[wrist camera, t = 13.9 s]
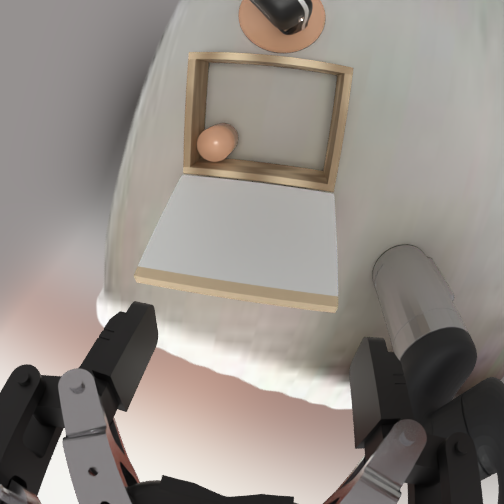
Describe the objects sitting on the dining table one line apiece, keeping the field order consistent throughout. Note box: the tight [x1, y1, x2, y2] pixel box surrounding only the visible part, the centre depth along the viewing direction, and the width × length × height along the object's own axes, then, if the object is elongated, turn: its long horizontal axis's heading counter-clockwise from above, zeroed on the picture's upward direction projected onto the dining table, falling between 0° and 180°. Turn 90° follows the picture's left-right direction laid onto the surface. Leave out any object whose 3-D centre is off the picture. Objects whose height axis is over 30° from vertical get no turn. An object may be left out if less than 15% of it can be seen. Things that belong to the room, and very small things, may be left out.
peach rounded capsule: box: [197, 123, 238, 162], centre depth 35 cm, size 4×4×4 cm
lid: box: [134, 175, 338, 313], centre depth 29 cm, size 17×14×1 cm
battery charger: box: [250, 0, 313, 35], centre depth 22 cm, size 7×4×11 cm, turn 38°
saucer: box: [239, 0, 325, 53], centre depth 27 cm, size 10×10×1 cm
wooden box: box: [183, 52, 353, 192], centre depth 32 cm, size 17×14×6 cm
